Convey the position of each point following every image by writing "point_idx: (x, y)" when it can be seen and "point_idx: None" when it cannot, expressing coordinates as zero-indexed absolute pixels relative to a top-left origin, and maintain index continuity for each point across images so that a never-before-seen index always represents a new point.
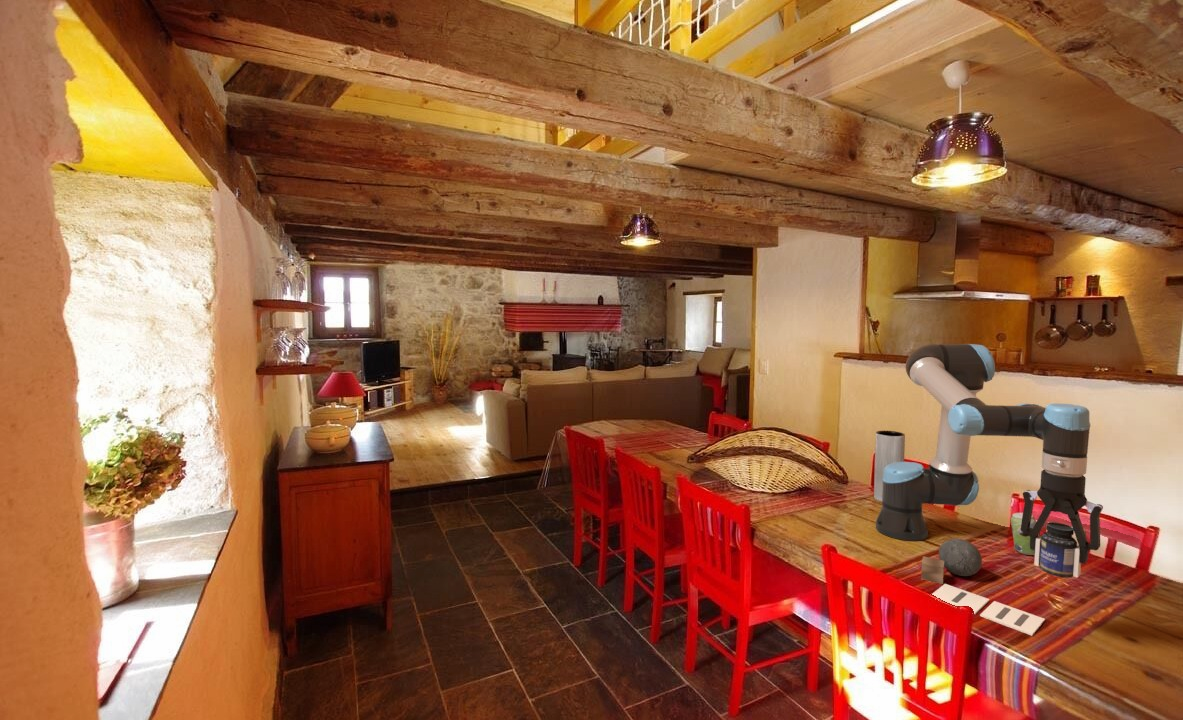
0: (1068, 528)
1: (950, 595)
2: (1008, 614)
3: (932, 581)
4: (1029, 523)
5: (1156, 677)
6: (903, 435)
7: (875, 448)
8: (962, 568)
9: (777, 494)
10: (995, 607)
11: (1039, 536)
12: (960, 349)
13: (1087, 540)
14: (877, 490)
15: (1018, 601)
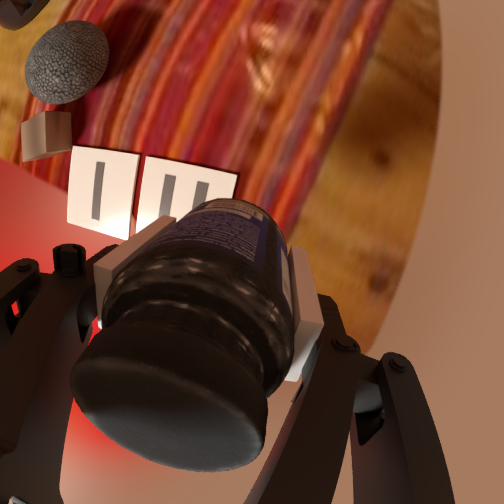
0: (222, 452)
1: (86, 194)
2: (173, 205)
3: (58, 153)
4: (12, 299)
5: (381, 286)
6: None
7: None
8: (75, 99)
9: None
10: (151, 188)
11: (99, 280)
12: None
13: (358, 371)
14: None
15: (189, 111)
